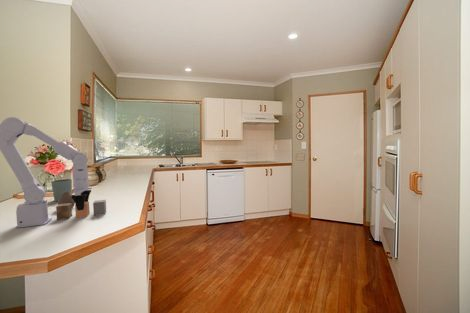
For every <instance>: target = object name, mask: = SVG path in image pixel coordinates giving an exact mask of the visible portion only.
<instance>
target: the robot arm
mask: <svg viewBox="0 0 470 313" xmlns="http://www.w3.org/2000/svg"><path fill="white" fill-rule="evenodd" d="M22 135H26V136H33V137H35V138H36V139H39V140H40V141H42V142H43V143H45V144H47V145H49V146H51V147H52V149H53V152H54V153H56V154H57V155H59V156H61V157H62V158H64V159H66V160H68V161H71V163H72V184H73V188H72V192H74V194H72V196H71V198H72V199H73V200H74V202H75V204H76V207H77V210H83V209H84V202H87V201H89V200H90V199H89V198H90V194H91V192H92V189H93V188H92V187H91V186H90V184H89V172H88V170H89V169H88V160H89V159H88V157H87V155H86V154H85V153H83V152H81V150H80V149H78V148H75V147H74V146H72V145H71V143H70V142H67V141H63V140H62V141H58V140H56V139H55V138H54V137H52V136H50V135H49V134H47V133H46V132H44V131H43V130H41V129H40V128H38V127H36V126H35V125H33V124H31V123H28V122H26V121H24V120H22V119H20V118H18V117H15V116H12V117H11V116H10V117H7V118H5V119H4V120H2V121H1V123H0V152H1V153H2V156H3V158H5V161H6V162H7V163H8V165H9V167H10V168H11V170H12V172H13V173H14V175H15V177H16V178H17V180H18V182H19V183H20V186H21V189H22V191H23V199H24V203H19V204H18V205H17V206H16V211H15V213H16V228H19V229H20V228H25V227H34V226H35V227H36V226H41V225H46V224H48V223H49V222H50V221H51V220H53V217H49V210H48V209H49V208H48V199H46V198H45V195H46V193H47V189H46V188H45V186H42V185H41V183H40V182H39V181H38V180H37V179H36V177H35V176H34V175H33V173H32V171H31V169H30V167H29V166H28V164H27V162H26V161H25V159H24V157H23V156H22V154H21V152H20V150H19V149H18V147H17V145H16V143H17V141H18V140H19V138H20V137H21V136H22ZM75 204H74V205H75Z"/></svg>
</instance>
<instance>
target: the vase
mask: <svg viewBox="0 0 470 313" xmlns="http://www.w3.org/2000/svg"><path fill="white" fill-rule="evenodd" d="M72 195H73V194H72ZM72 195H71V194H70V193H69V192H63V194H62V196H61V197H60V198H59V200H58V201H57V206H58V205H59V204H66V203H71V205H72V209H73V208H74V207H75V202H74V200H73V199H72V198H71V196H72Z"/></svg>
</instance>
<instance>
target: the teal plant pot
mask: <svg viewBox="0 0 470 313" xmlns="http://www.w3.org/2000/svg"><path fill="white" fill-rule="evenodd" d="M50 182H51V188H52V194H53V201H54V202H58V200H59V198H60V197H61V196H62V194H63V192H69V193H70V194H71V195H73V194H72V193H73V178H66V179H56V180H55V179H53V180H51V181H50Z"/></svg>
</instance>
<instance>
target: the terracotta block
mask: <svg viewBox="0 0 470 313" xmlns="http://www.w3.org/2000/svg"><path fill="white" fill-rule="evenodd" d="M74 207H75V209H74V210H75V218H84V217H85V218H86V217H88V216H89V215H90V214H91V212H90V201H89V200H88V201H87V202H84V209H83V210H77V207H76V204H74Z"/></svg>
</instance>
